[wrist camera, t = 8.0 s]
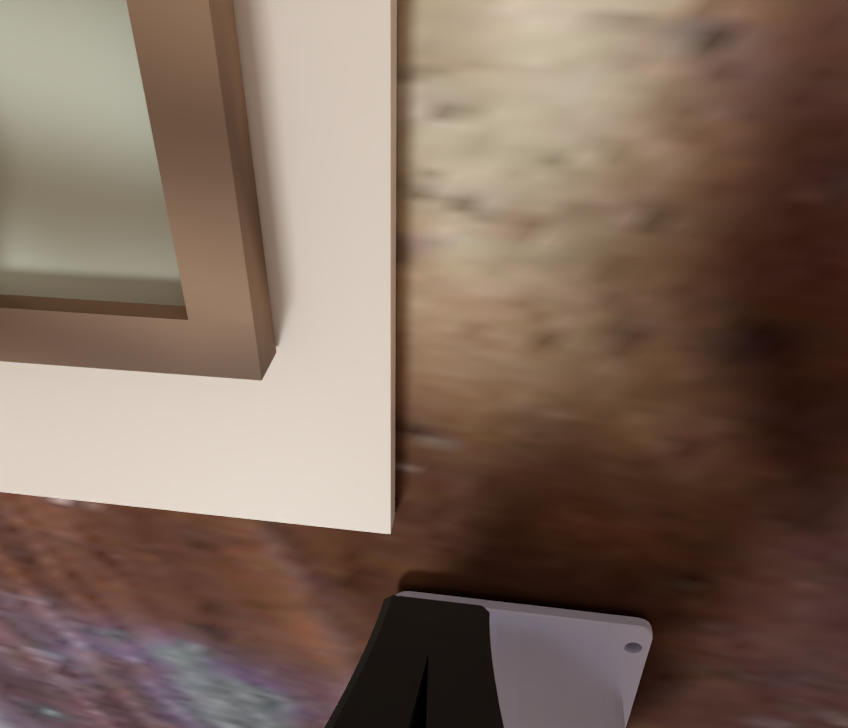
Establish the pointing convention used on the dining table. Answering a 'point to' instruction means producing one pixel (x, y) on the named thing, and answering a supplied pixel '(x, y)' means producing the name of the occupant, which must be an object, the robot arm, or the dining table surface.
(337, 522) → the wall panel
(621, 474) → the dining table surface
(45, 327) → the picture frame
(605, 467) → the dining table surface
